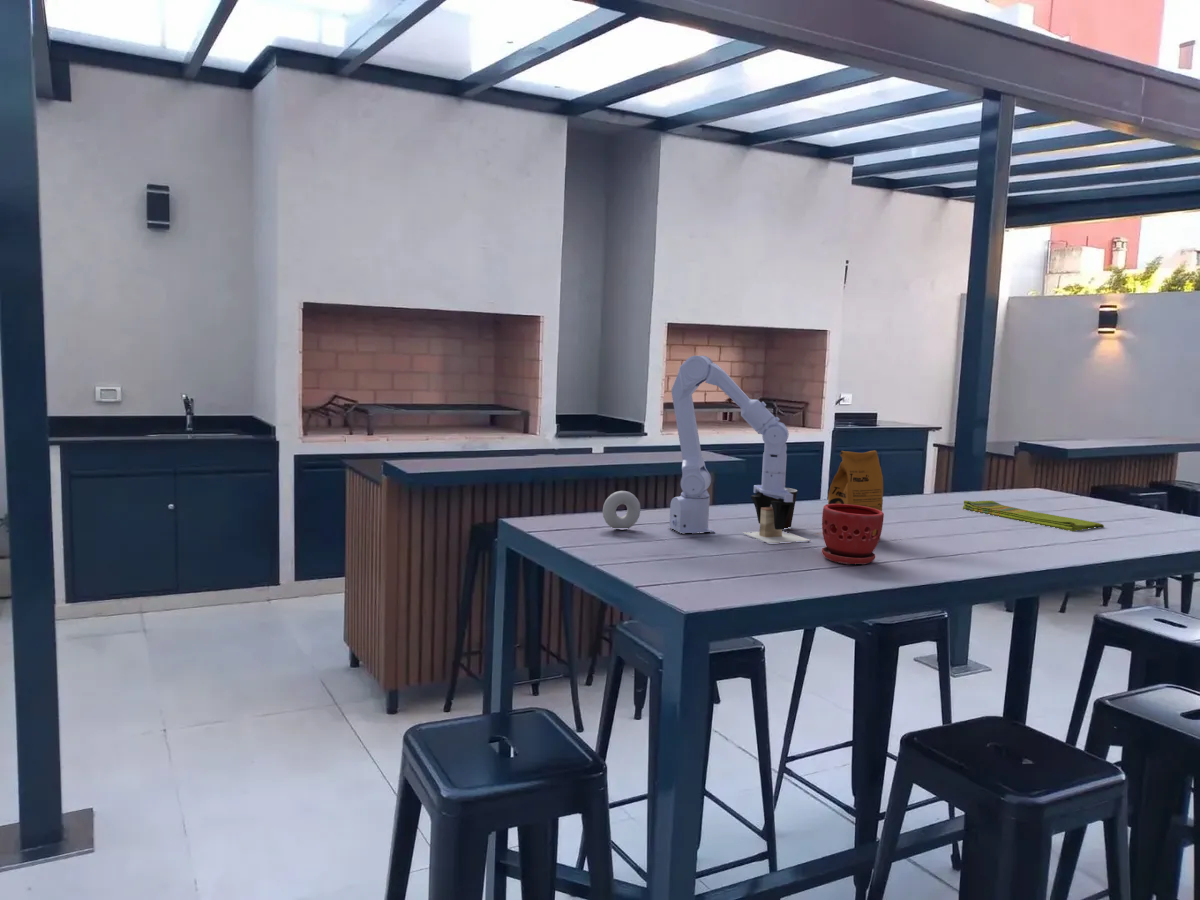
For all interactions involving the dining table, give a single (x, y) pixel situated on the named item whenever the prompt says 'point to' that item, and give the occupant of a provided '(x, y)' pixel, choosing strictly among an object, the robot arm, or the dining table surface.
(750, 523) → the dining table surface
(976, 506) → the dish towel
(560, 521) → the dining table surface
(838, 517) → the plant pot
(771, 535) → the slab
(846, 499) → the coffee package
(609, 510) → the donut
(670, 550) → the dining table surface
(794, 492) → the coffee mug
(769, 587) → the dining table surface
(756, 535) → the mat
